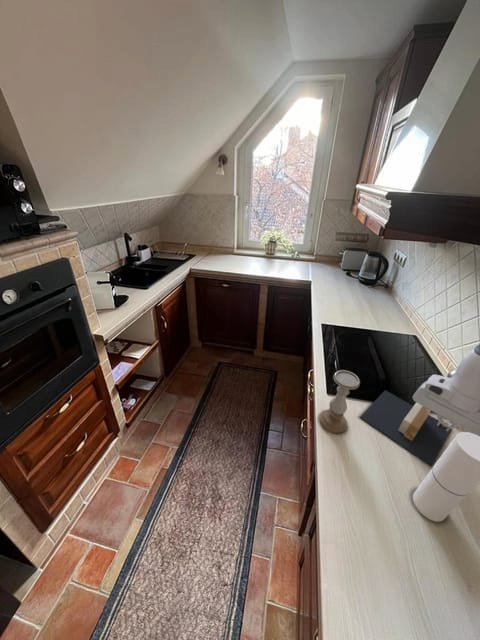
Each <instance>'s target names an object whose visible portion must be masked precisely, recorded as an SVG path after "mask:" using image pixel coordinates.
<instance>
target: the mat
mask: <svg viewBox="0 0 480 640" xmlns="http://www.w3.org/2000/svg"><path fill="white" fill-rule="evenodd" d="M413 406H414V405H412V404H411V403H408V402H407V401H405V400H404V399H402V398H400V397H398V396H396V395H395V394H393V393H391V392H389V391H388V390H387V389H385V390H384V391H383V392H382V393H381V394H380V395H379V396H378V397H377V398H376V399H375V400H374V402H372V404H370V405H369V407H367V409H366V410H365V411H364V412H363V413H362V414H361V415H360V417H359V418H360V419H361V420H362V421H364V422H366V423H367V424H369V425H370V426H371V427H373V428H374V429H376V430H377V431H379V432H380V433H382V434H383V435H385V436H386V437H387V438H388V439H390V440H392V441H393V442H395V443H396V444H397V445H399V446H400V447H402V448H404V449H405V450H406V451H408V452H409V453H411V454H413V455H414V456H415V457H417V458H418V459H420V460H421V461H422V462H424V463H425V464H427V465H428V466H429V467H433V465H434V462H435V460H436V459H437V456H438V455H439V453H440V451H441V449H442V447H443V445H444V443H445V442H446V440H447V437H448V436H449V433H450V431H451V430H452V428H451V429H449V430H448V432H447V431H446V430H444V429H442V428H441V427H439V426H437V424H438V418H435V417H433V416H432V415H430V414H429V415H428V417H427V419H426V420H425V422H424V423H423V425H422V426H421V428H420V429H419V431H418V433H417V434H416V436H415V437H414V439H413V440H412V441H411V440H409V439H408V438H406V437H405V436H404V434H403V433H401V432H400V431H398V429H399V427H400V426H401V424H402V422H403V420H404V418H405V417H406V416H407V414H408V413H409V412H410V410H411V409H412V408H413Z"/></svg>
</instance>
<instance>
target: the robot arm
mask: <svg viewBox="0 0 480 640" xmlns="http://www.w3.org/2000/svg"><path fill="white" fill-rule="evenodd" d="M456 369H457V372H456V374H455V375H454V376H453V377H452V378H449V377H447V376H444V375H439V374H435V373H434V374H432V375H430V376H429V377H428V379H427V380H425V381H423V383H422V384H421V385H420V386H419V387H418V388H417V390H416V391H415V392H414V393H413V395H412V397H411V398H412V400H413V402H415V403H416V402H417V403H419V404H420V405H422V406H424V407H426V408H427V409H429V410H431V412H433V413H435V414H437V415H436V419H437V420H438V424H437V426H439V427H441V428H442V429H444V430H446V431H447V432H448V430H449V429H451V430H452V429H455V428H456V429H457V428H458V427H460V428H461V429H463V430H465V431H466V432H469V433H473V434H475V435H478V436H480V344H477V345H476V346H474V347H472V348H471V349H470V350H469V351H468V352H467V353H466V354H465V356H464V357H462V359H461V361H460V363H459V364H458V365H457V368H456ZM444 419H445V420H447V421H449V422H450V423H449V422H447V421H445V420H444Z"/></svg>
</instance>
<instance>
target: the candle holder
mask: <svg viewBox="0 0 480 640" xmlns="http://www.w3.org/2000/svg"><path fill="white" fill-rule="evenodd" d="M332 378H333V382H334V383H335V384H336V385H338V386H337V387H336V395H335V396H334V397H333V398H332V399H330V401H329V404H328V405H329V407H328V409H325V410H323V411H321V413H320V415H319V421H320V424H321V425H322V427H323V428H324V429H325V430H327V431H328V432H331V433H332V434H333V433H334V434H340V433H344V432H345V431H346V430H347V427H348V421H347V419H346V418H345V413H346V412H347V410H348V404H347V401H346V400H347V396H348V395H350V390H357V389H358V388H359V387H360V385H361V379H360V378H359V377H358V375H356V374H355V373H354V372H352V371H350V370H345V369H339V370H337V371H336V372H334V374H333V377H332Z"/></svg>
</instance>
